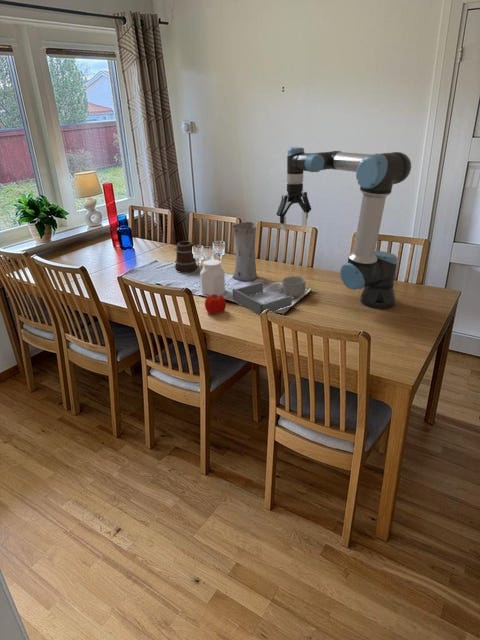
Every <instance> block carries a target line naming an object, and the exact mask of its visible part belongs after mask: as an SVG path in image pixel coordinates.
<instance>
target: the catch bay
mask: <svg viewBox="0 0 480 640" xmlns="http://www.w3.org/2000/svg"><path fill="white" fill-rule="evenodd" d="M231 290H232V301H234V300H235V301H234V302H236V301H237V302H238V304H239V305H241V306H243V307H245V308H246V309H249V310H250V311H252V312H254V313H255V314H257V315H258V316H260V314H261V313H262V312H263V311H264V310H266V309H269V310H270V311H273V313H275V312H274V311H276V310H278V309H280V308H284V307H287V306H290V305H292V303H293V300H292V299H293V298H292V296H291V295H290V296H287V295H286V296H284V297H280V298H278V299H275V300H271V301H268V302H264V303H262V302H260V301H258V300H256V299H254V298H253V297H251V296H254V295H253V294H255V295H257V294H256V293H258V294H260V293H259V292H261V293H264V282H263V281H260V282H256V283H252V284H249V285H245V286H241V287H238V288H232V289H231ZM250 295H251V296H250ZM237 302H236V303H237ZM276 312H277V311H276Z"/></svg>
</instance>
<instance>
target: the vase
mask: <svg viewBox="0 0 480 640" xmlns="http://www.w3.org/2000/svg"><path fill="white" fill-rule="evenodd" d="M232 229H233V235H234V241H235V243H234V244H235V267H234V271H233V274H232V279H234V280H237V281H241V282H252V281H255V280H257V279H258V273H257V267H256V266H257V265H256V264H257V263H256V235H257V234H256V233H257V226H256V225H255V223H253V222H251V221H246V222H239V223H236V224H234V225H232Z"/></svg>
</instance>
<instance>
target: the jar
mask: <svg viewBox="0 0 480 640" xmlns="http://www.w3.org/2000/svg"><path fill="white" fill-rule="evenodd" d="M202 264H203V268H202V269H201V271H200V272H199V273H200V274H199V275H200V283H201V284H200V285H201V286H200V287H201V294H202V295H208V296H211V295H212V294H216V295H222V296H223V295H224V294H225V293H226V285H225V282H226V279H225V270H224V269H223V267H222V263H221V261H220V260H218V259H206V260H205V261H203V262H202ZM223 293H224V294H223Z"/></svg>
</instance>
